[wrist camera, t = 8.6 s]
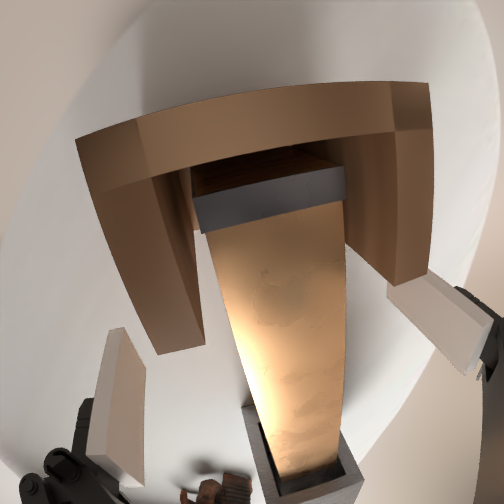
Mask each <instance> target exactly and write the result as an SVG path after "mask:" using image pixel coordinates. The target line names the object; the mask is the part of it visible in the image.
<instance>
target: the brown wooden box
mask: <svg viewBox="0 0 504 504" xmlns="http://www.w3.org/2000/svg"><path fill="white" fill-rule="evenodd" d="M75 142H76V146H77V150H78V154H79V157H80V161H81V165H82V168H83V172H84V175H85V178H86V182H87V185H88V188H89V191H90V195H91V198H92V201H93V204H94V207H95V210H96V213H97V216H98V219H99V221H100V224H101V227H102V230H103V233H104V235H105V238H106V241H107V243H108V246H109V249H110V251H111V254H112V256H113V259H114V261H115V264H116V266H117V269H118V271H119V273H120V276H121V278H122V281H123V283H124V285H125V288H126V290H127V292H128V294H129V297H130V299H131V301H132V303H133V306H134V308H135V310H136V312H137V314H138V316H139V318H140V321H141V323H142V325H143V327H144V329H145V331H146V333H147V335H148V337H149V339H150V341H151V343H152V345H153V347H154V349H155V351H156V353H157V354H158V355H161V354H165V353H170V352H175V351H179V350H184V349H188V348H192V347H197V346H201V345H205V336H204V328H203V320H202V311H201V303H200V294H199V285H198V275H197V265H196V254H195V243H194V230H198V229H200V227H199V223H198V219H197V215H196V212H195V208H194V204H193V200H192V190H191V176H190V166H194V165H198V164H202V163H207V162H211V161H215V160H219V159H224V158H228V157H233V156H237V155H242V154H247V153H251V152H256V151H261V150H266V149H272V148H277V147H283V146H289V147H292V148H296V149H299V150H302V151H304V152H307V153H310V154H313V155H316V156H319V157H322V158H324V159H327V160H330V161H333V162H335V163H338V164H341V165H343V166H344V172H345V184H346V197H347V199H346V200H342V205H343V220H344V238H345V243H346V244H347V245H348V246H350V247H351V248H352V249H353V250H354V251H355V252H356V253H358V254H359V255H360V256H361V257H362V258H363V259H364V260H365V261H366V262H368V263H369V264H370V265H371V266H372V267H373V268H374V269H375V270H376V271H377V272H378V273H380V274H381V275H382V276H383V277H384V278H385V279H386V280H387V281H388V282H389V283H390V284H391V285H392V286H394V287H395V286H398V285H400V284H403V283H406V282H408V281H411V280H414V279H416V278H419V277H421V276H424V275H426V274H427V270H428V262H429V253H430V244H431V232H432V219H433V198H434V146H433V126H432V112H431V102H430V92H429V84H428V83H421V82H398V81H356V82H333V83H318V84H306V85H295V86H286V87H278V88H270V89H263V90H256V91H250V92H244V93H238V94H232V95H227V96H222V97H217V98H212V99H207V100H202V101H198V102H194V103H189V104H185V105H181V106H177V107H173V108H169V109H165V110H162V111H158V112H155V113H151V114H148V115H144V116H141V117H137V118H134V119H131V120H128V121H125V122H122V123H119V124H116V125H113V126H110V127H107V128H104V129H101V130H99V131H96V132H93V133H90V134H88V135H85V136H83V137H80V138H77V139H75Z"/></svg>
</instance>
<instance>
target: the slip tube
mask: <svg viewBox="0 0 504 504" xmlns="http://www.w3.org/2000/svg"><path fill="white" fill-rule="evenodd" d="M190 176H191V190H192V200H193V204H194V208H195V212H196V215H197V219H198V223H199V227H200V231H201V234H203V233H205V234H206V238H207V242H208V246H209V249H210V253H211V257H212V261H213V264H214V268H215V271H216V275H217V279H218V282H219V286H220V289H221V293H222V297H223V300H224V304H225V307H226V311H227V314H228V317H229V321H230V324H231V328H232V331H233V334H234V338H235V341H236V344H237V348H238V351H239V354H240V358H241V361H242V364H243V367H244V371H245V374H246V377H247V380H248V383H249V386H250V390H251V393H252V396H253V399H254V402H255V405H256V408H257V411H258V414H259V417H260V420H261V423H262V426H263V429H264V432H265V435H266V438H267V441H268V444H269V447H270V450H271V453H272V456H273V458H274V461H275V464H276V467H277V470H278V473H279V475H280V478H281V481H282V482H285V481H288V480H292V479H295V478H299V477H302V476H305V475H308V474H311V473H314V472H317V471H320V470H323V469H326V468H329V467H331V466H334V465H336V461H337V453H338V444H339V435H340V425H341V413H342V401H343V386H344V368H345V342H346V265H345V238H344V220H343V205H342V200H346V199H347V197H346V184H345V172H344V166H343V165H341V164H338V163H335V162H333V161H330V160H327V159H324V158H322V157H319V156H316V155H313V154H310V153H307V152H304V151H302V150H299V149H296V148H292V147H289V146H283V147H277V148H272V149H266V150H261V151H256V152H251V153H247V154H242V155H237V156H233V157H228V158H224V159H219V160H215V161H211V162H207V163H202V164H198V165H194V166H190Z"/></svg>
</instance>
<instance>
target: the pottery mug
mask: <svg viewBox="0 0 504 504" xmlns="http://www.w3.org/2000/svg"><path fill="white" fill-rule="evenodd" d="M251 482H252V480H251V479H246V478H245V477H241V476H236V475H231V474H226V473H224V474H223V482H222V486H221V485H220V484H219V483H218V482H217V481H215V480H213V479H209V480H205V481H202V482H201V484H200V487H199V494H198V496H197V498H196V502H193V501H191V500H189V499H187V491H186V490H182V491H181V494H180V501H181V504H250V500H251V499H250V495H251V493H252V484H251Z"/></svg>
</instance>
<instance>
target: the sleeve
mask: <svg viewBox="0 0 504 504" xmlns="http://www.w3.org/2000/svg"><path fill="white" fill-rule="evenodd" d="M241 409H242V413H243V417H244V421H245V426H246V430H247V434H248V437H249V441H250V445H251V449H252V453H253V457H254V461H255V464H256V468H257V472H258V476H259V479H260V483H261V486H262V490H263V494H264V497H265V501H266V504H354V502H355V500H356V498H357V496H358V493H359V491H360V489H361V487H362V485H363V482H364V478H363V476H362V474H361V472H360V470H359V467H358V465H357V463H356V461H355V459H354V457H353V455H352V453H351V451H350V449H349V447H348V445H347V443H346V441H345V439H344V437H343V435H342V433H341V431H340V435H339V444H338V453H337V461H336V465H334V466H331V467H329V468H326V469H323V470H320V471H317V472H314V473H311V474H308V475H305V476H302V477H299V478H295V479H292V480H288V481H285V482H282V481H281V478H280V475H279V473H278V470H277V467H276V464H275V461H274V458H273V456H272V453H271V450H270V447H269V444H268V441H267V438H266V435H265V432H264V429H263V426H262V423H261V420H260V417H259V414H258V411H257V408H256V405H255V404H254V405H250V406H246V407H242V408H241Z"/></svg>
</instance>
